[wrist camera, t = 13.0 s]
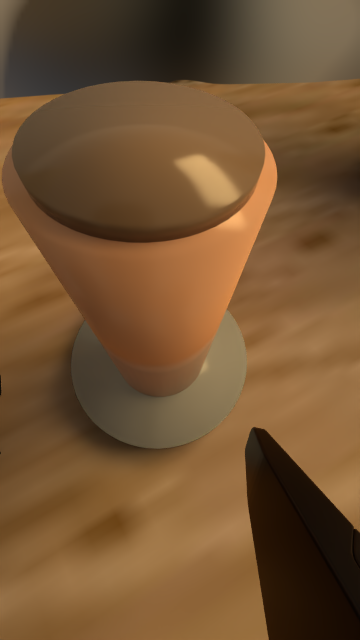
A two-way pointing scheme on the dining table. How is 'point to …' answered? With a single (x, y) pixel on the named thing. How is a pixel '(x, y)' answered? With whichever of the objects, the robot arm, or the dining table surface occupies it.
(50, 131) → the tan tapered cylinder
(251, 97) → the dining table surface
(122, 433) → the grey plate
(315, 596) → the robot arm
